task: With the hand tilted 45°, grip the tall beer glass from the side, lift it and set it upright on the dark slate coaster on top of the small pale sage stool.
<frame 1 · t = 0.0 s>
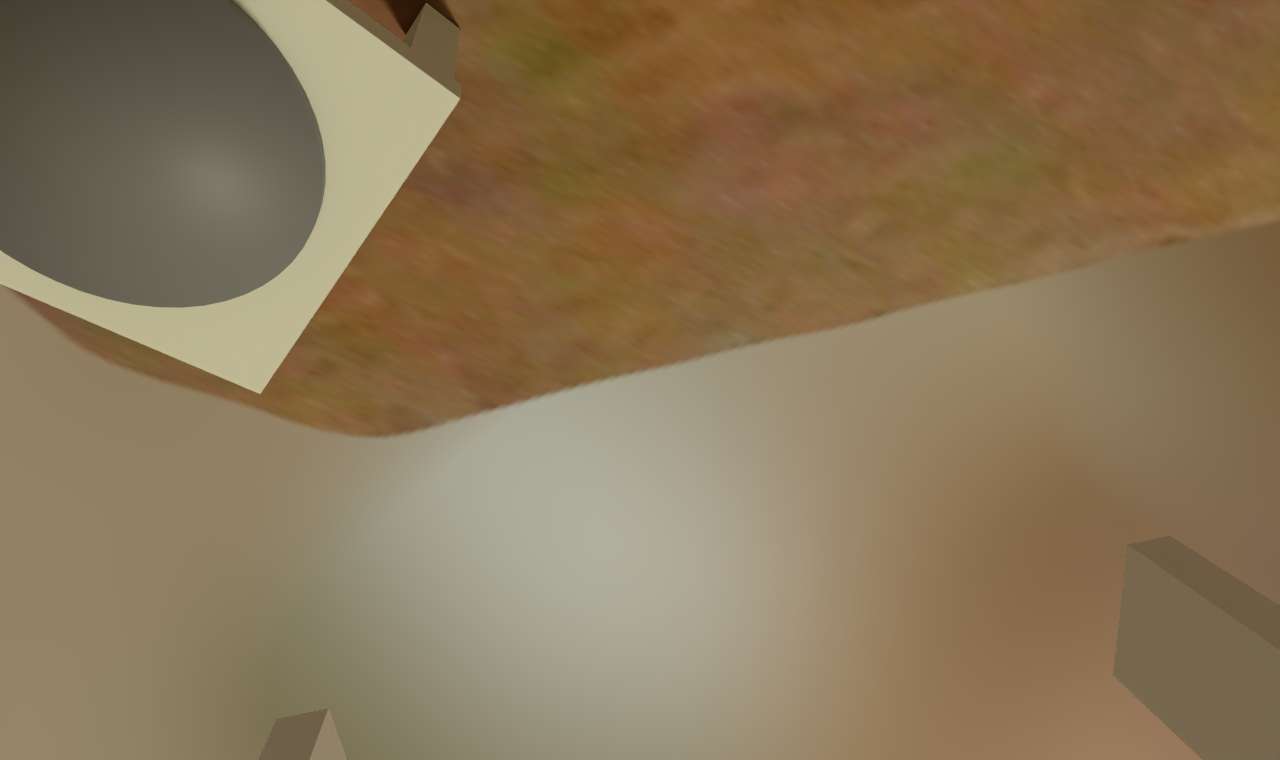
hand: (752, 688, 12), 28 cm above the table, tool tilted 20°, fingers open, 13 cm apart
stool: (223, 56, 29), on the table
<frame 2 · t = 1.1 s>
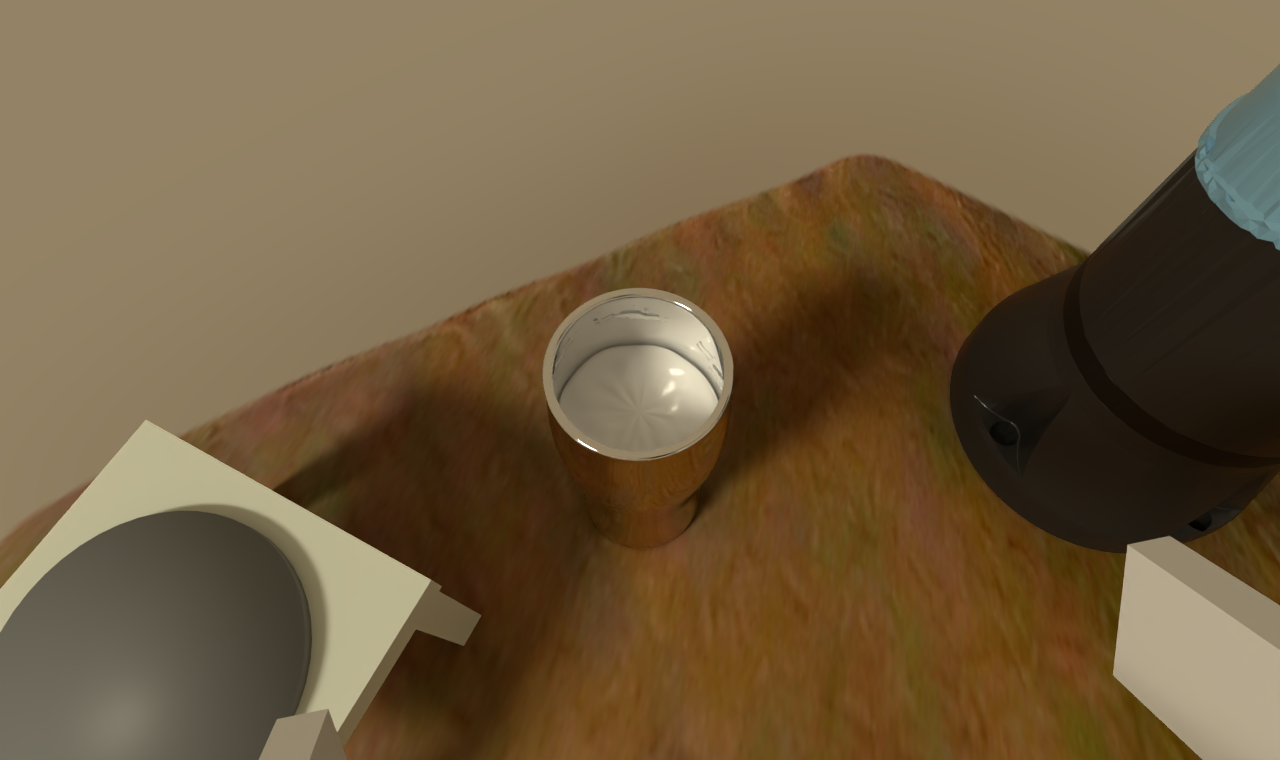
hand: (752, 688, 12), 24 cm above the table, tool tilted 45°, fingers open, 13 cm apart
beer glass: (642, 492, 38), on the table
stool: (285, 679, 34), on the table
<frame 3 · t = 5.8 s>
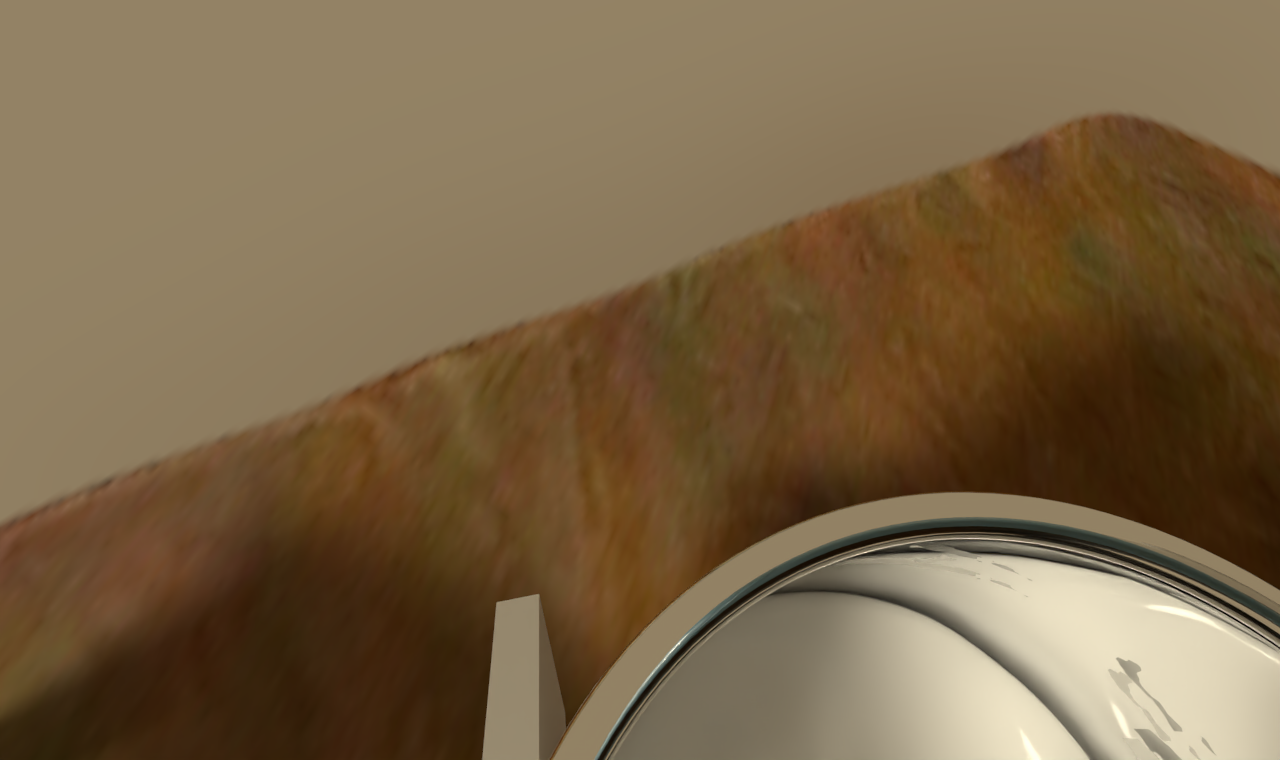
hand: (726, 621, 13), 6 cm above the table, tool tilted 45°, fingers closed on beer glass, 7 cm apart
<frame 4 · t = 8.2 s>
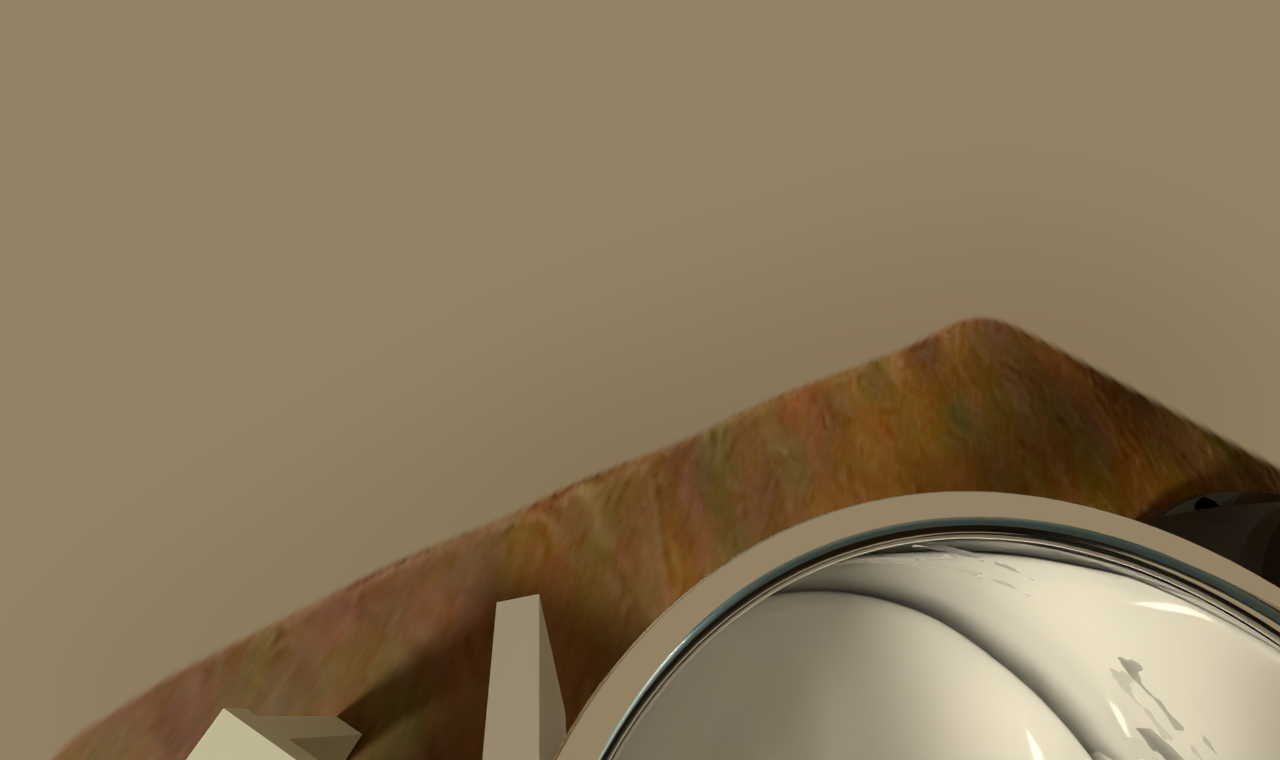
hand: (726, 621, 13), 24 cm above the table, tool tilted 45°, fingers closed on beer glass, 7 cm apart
when the fingers open (18 cm above the table, at t = 10.6 s): beer glass drops 1 cm, resting on stool.
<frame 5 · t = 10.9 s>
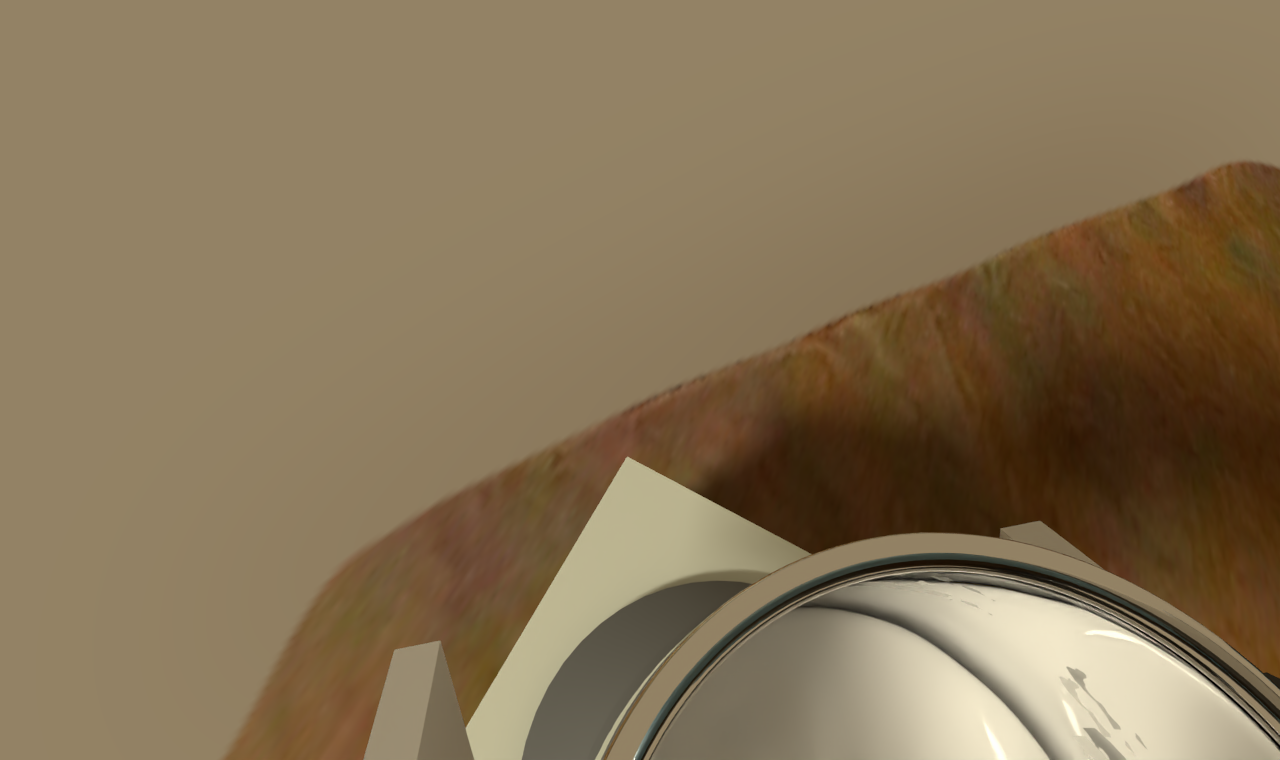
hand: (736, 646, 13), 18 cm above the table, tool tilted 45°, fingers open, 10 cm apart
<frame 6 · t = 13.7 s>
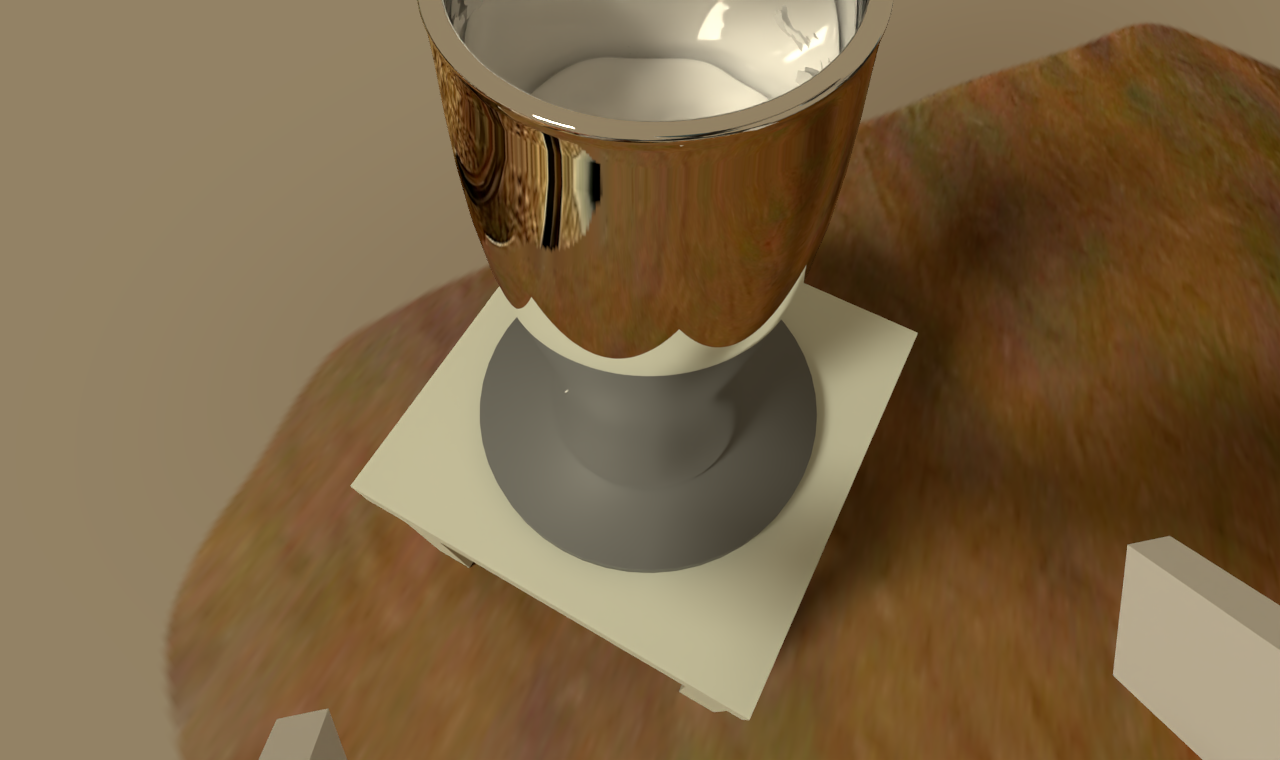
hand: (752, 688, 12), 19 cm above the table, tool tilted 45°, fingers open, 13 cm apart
beer glass: (646, 403, 23), point 10 cm above the table, touching stool
stool: (646, 491, 33), on the table
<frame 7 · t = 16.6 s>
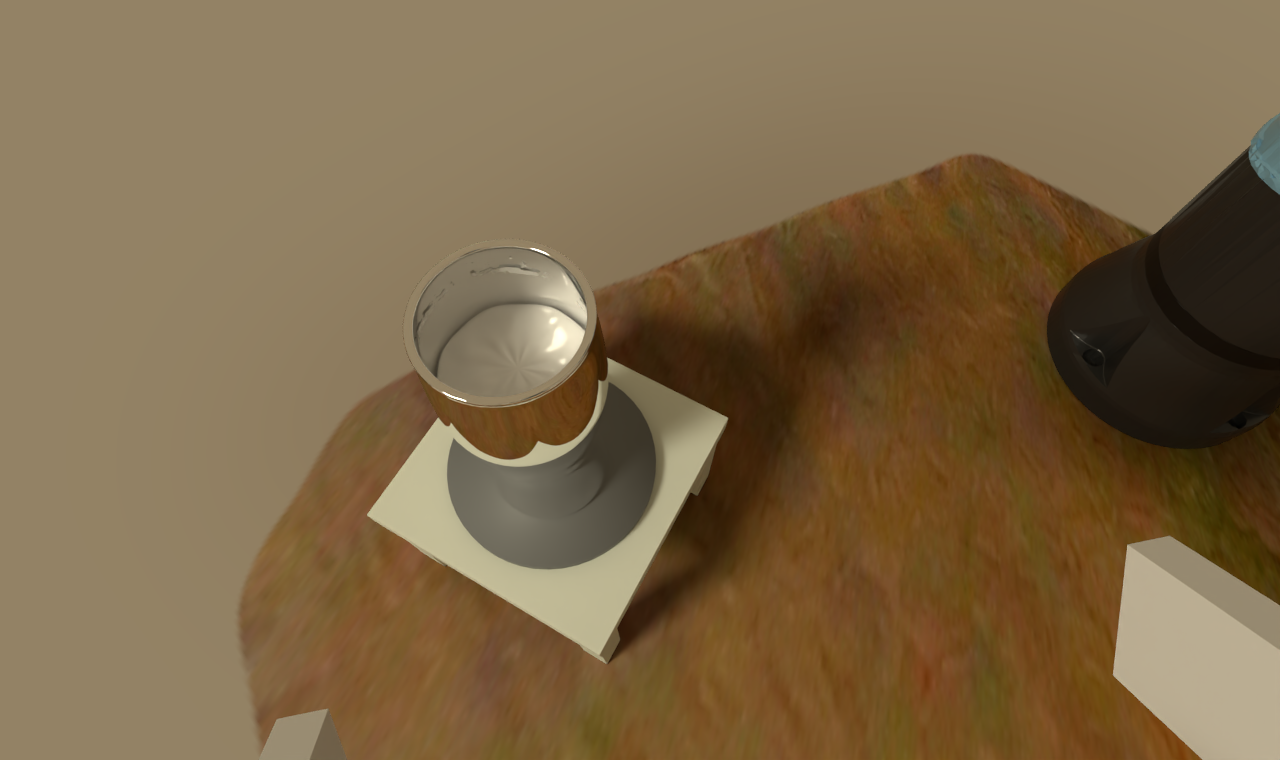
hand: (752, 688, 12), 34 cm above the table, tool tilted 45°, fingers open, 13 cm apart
beer glass: (551, 464, 38), point 10 cm above the table, touching stool
stool: (570, 514, 47), on the table
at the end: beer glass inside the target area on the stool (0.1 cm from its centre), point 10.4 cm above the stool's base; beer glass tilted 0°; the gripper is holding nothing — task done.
